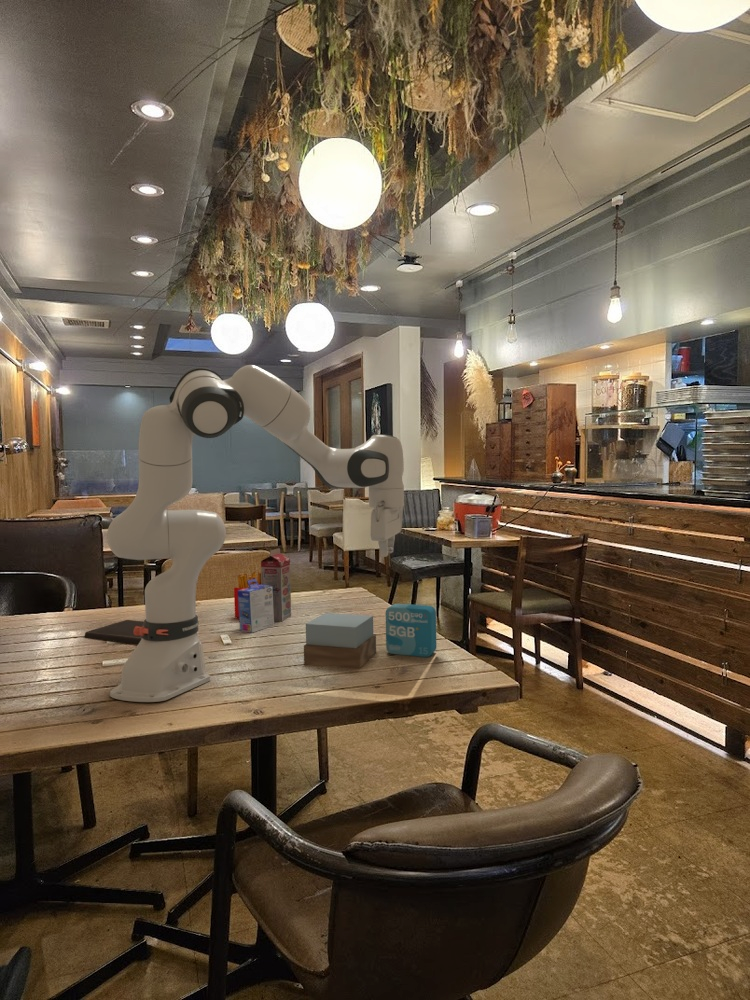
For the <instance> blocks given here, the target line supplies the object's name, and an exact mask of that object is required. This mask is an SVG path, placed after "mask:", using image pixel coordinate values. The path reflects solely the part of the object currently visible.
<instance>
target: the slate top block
mask: <svg viewBox="0 0 750 1000" xmlns="http://www.w3.org/2000/svg"><path fill="white" fill-rule="evenodd" d="M373 634H374V615H366V614H365V615H364V614H348V613H336V612H334V613H332V612H325V613H323V614H322V615H321V614H320V615H318V616H317V617H316V618H314V619H312V620H310V621H307V622H306V623H305V645H306V644H309V645H321V646H334V647H346V648H357V647H359V646H360V645H361V644H363V643H364V642H365V641H367V640H368V639H369V638H371V637H372V636H373Z"/></svg>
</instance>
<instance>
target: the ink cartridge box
mask: <svg viewBox="0 0 750 1000" xmlns="http://www.w3.org/2000/svg"><path fill="white" fill-rule="evenodd" d="M251 579H252V578H251ZM247 582H248V587H249V588H246V589H242V590H238V606H239V619H238V620H239V623H238V624H239V631H240V632H243V633H248V634H251V633H256V632H259V631H261V630H264V629H268V628H271V627H274V626H275V621H274V612H273V590H272V586H268V585H258V582H257V578H256V579H252V580H249V579H247ZM251 582H256V584H252V585H251V584H250V583H251Z"/></svg>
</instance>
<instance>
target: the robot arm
mask: <svg viewBox="0 0 750 1000" xmlns="http://www.w3.org/2000/svg"><path fill="white" fill-rule="evenodd" d="M169 403H170V404H161V405H155V406H153V407H151V408H148V409H147V410H146V411H145V412H144V413H143V415H142V417H141V420H140V421H141V422H140V427H139V434H138V465H139V467H138V486H137V492H136V494H135V497H134V499H133V500H132V502H131V503H130V504H129V506H127V508H126V509H124V510H123V511H122V512H121V513H119V514H118V515H116V516H115V517H114V518H113V519H112V521H111V522H110V524H109V526H108V529H107V531H106V540H107V544H108V547H109V549H110V550H111V552H112V554H114V555H115V556H116V557H117V558H121V559H126V560H135V561H136V560H137V561H147V560H161V559H171V561H172V564H171V566H170V568H168V569H167V570H165V571H163V572H161V573H160V574H157V575H156V576H154V577H153V578H152V579H150V581H148V583H147V584H146V586H145V588H144V607H145V608H144V610H145V619H144V620H143V622H144V624H143V627H139V626H136V627H135V629H134V631H133V632H135V633H134V634H135V635H141V638H142V639H141V641H140V642H139V644H138V645H136V647H135V648H134V650H132V651H133V652H131V654H130V656H128V658H127V660H126V661H125V662H124V664H123V665H122V668H121V682H120V683H119V684H118V685H117V686H115V687H114V688H113V689H111V690H110V691H109V696H110V697H111V698H112V699H114V700H115V699H116V700H119V701H127V702H137V703H155V702H157V703H158V702H164V701H167V700H169V699H171V698H174V697H177V696H179V695H181V694H183V693H185V692H188V691H190V690H192V689H195V688H196V687H199V686H201V685H203V684H205V683H209V682H210V681H211V676H210V674H208V673H207V671H206V669H207V668H206V662H205V661H206V660H205V655H204V654H205V653H204V646H203V644H202V642H201V640H200V638H199V636H198V631H199V616H198V615H197V612H196V600H197V599H196V597H197V596H196V594H197V585H198V584H197V583H198V579H199V576H200V574H201V571H202V570H203V568H204V566H205V565H206V563H207V562H208V561H209V560H210V559H211V558H212V556H214V555H215V554H216V553H218V552H219V551H220V549H221V548H222V547H223V546H224V543H225V540H226V536H227V531H226V530H227V529H226V525H225V522H224V520H223V519H222V517H221V516H220V515H219V514H218V513H217V512H215V511H210V510H203V509H196V508H195V509H173V510H171V509H170V510H169V509H168V508H169V507H170V506H171V505H174V504H175V503H177V502H180V501H181V500H183V499H184V498H185V497H186V496H188V494H189V493H190V492H191V491H192V488H193V439H194V437H195V435H196V436H198V437H200V438H205V439H213V438H214V439H215V438H218V437H220V436H222V435H224V434H225V433H227V431H229V430H230V429H231V428H232V427H233V426H234V425H235V424H238V423H239V422H241V421H242V420H243V418H244V417H246V418H248V419H249V420H250V421H252V422H253V423H254V424H256V425H258V426H259V427H260V428H262V429H263V430H265V431H266V432H267V433H268V434H271V435H272V436H273V437H275V438H277V439H278V440H280V441H281V442H282V443H283V444H284V445H285V446H286V447H288V448H289V449H290V450H291V451H292V452H294V453H295V454H296V455H297V456H298V457H300V458H301V459H302V460H303V461H304V462H306V463H307V464H308V465H310V467H311V468H312V469H313V471H314V473H315V474H316V475H317V477H318V479H319V480H320V481H321V483H322V484H323V485H325V486H326V487H327V488H331V489H344V488H347V489H349V488H350V489H355V488H356V489H364V488H367V487H368V507H369V508H373V509H372V511H371V514H370V538H371V541H373V542H376V541H377V542H378V547H379V556H380V557H382V558H386V557H388V556H389V554H392V553H394V546H395V539H396V538H395V537H396V535H398V534H400V533H401V531H402V527H403V515H404V512H403V511H404V506H405V504H406V497H405V489H404V487H405V486H404V482H403V475H404V463H405V462H404V460H405V459H404V451H403V445H402V443H401V440H400V439H399V438H397V437H396V436H393V435H388V434H382V433H381V434H373V435H371V436H370V438H369V439H368V440H367V441H365V442H363V443H362V444H360V445H357V446H355V447H354V448H353V447H352V448H335V447H331V446H329V445H326V443H324V442H323V441H322V440H321V439H319V438H318V437H317V436H316V435H315V433H313V432H312V431H310V430H309V429H308V425H309V423H310V419H311V411H310V410H311V408H310V404H309V403H308V402H307V401H306V399H305V398H304V397H303V396H302V395H301V394H300V393H299V392H297V391H296V390H295V389H294V388H293V387H291V386H290V385H289V384H288V383H286V382H285V381H284V380H282V379H281V378H279V376H276V375H274V374H273V373H271V372H269V371H267V370H265V369H263V368H262V367H260V366H257V365H255V364H247V365H244V366H241V367H240V368H238V369H237V370H236V371H235V372H234V373H233V374H232V376H231V377H229V378H226V379H223V378H222V376H221V375H219V374H218V373H217V372H216V371H214V370H212V369H210V368H207V367H196V368H195V367H193V368H191V369H189V370H187V371H186V372H185V373H184V374H183V375H182V376H181V377H180V379H179V380H178V382H177V383H176V386H175V388H174V389H173V391H172V393H171V394H170V396H169ZM167 509H168V510H167Z"/></svg>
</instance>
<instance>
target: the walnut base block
mask: <svg viewBox="0 0 750 1000" xmlns="http://www.w3.org/2000/svg"><path fill="white" fill-rule="evenodd" d="M376 652H377V634H376V633H373V636H372V637H371V638H369V639H368V640H367V641H365V642H364V643H363V644H361V645H360V646H359V647H357V648H346V647H334V646H321V645H309V644H306V643H305V644H304V645H303V664H304V665H305V666H321V667H334V668H335V667H336V668H348V669H361V668H362V667H363V666H364V665H365V664H366V663H367V662H368V661H369V659H371V658H372V657H373V656H374V655H375V654H376Z"/></svg>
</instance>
